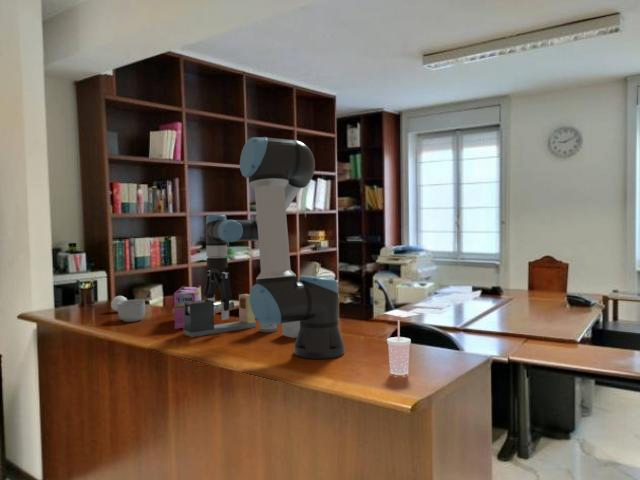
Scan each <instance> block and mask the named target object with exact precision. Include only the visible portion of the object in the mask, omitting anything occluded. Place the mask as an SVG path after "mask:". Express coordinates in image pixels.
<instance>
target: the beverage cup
mask: <svg viewBox="0 0 640 480" xmlns="http://www.w3.org/2000/svg"><path fill="white" fill-rule="evenodd" d="M400 330H401V328H400V319H398V320H397V336H394V337H391V336H390V337H388V338H387V339H386V343H387V345H388V358H389V359H388V360H389V374H390V373H391V374H395V375H405V374H408V375H409V366H410V365H409V364H410V347H411V346H410V345H411V343H412V340H411V338H409V337H404V336H400V335H401V333H400V332H401V331H400ZM391 374H390V375H391Z"/></svg>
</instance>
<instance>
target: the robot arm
mask: <svg viewBox="0 0 640 480" xmlns="http://www.w3.org/2000/svg"><path fill="white" fill-rule="evenodd" d="M240 153H241V154H240V157H239V159H240V160H239V170H240V173H241V175H242V177H244V178H246V179H247V178H248V185H249V186H250V188H252V189H253V190H254V199H255V212H256V216H255V218H254V219H227V216H226V214H208V215H207V216H206V217H205V239H206V242H205V244H206V245H205V248H206V249H205V250H206V257H207V258H206V268H208V269H209V270H206V271H205V281H204V282H205V284H204V291H203V292H204V293H203V295H204V297H206V300H210V301H214V303H216V295H215V292H216V289H217V286H218V290H219V294H220V297H221V300H220V302H221V310H220V311H221V313H220V315H221V317H220V318H221V321H224V320H225V321H226V320H229V319H230V309H229V301H233V293H232V288H231V282H230V272H225V268H228V264H229V263H228V257H227V256H228V250H229V248H228V243H235V242H249V241H255V242H257V241H258V251H259V252H258V253H259V263H260V273H259V274H258V275H257V277H256V279H255V283H256V284H254V285H252V287H251V288H250V290H249V291H250V293H249V294H250V305H251V309H252V311H253V314H254V316H255V320H257V321H258V323H259V324H260V323H262V324H264V325H272V324H274V325H277V326H278V325H280V324H281V325H282V323H289V322H296V321H300V329H299V333H298V336H297V337H296V340H295V343H294V347H293V348H294V355H295V356H297V357H300V358H304V359H312V360H313V359H314V360H326V359H333V358H337V357H340V356H343V355H344V354H345V344H344V340H343V336H342V334H341V331H340V327H339V295H340V292H339V287H338V281H337V280H336V279H334V278H330V277H324V276H314V275H313V276H312V275H300V276H299V278H298V277H297V274H296V273H295V272H294V271H292V269H291V259H290V257H291V256H290V248H289V247H290V246H289V243H290V242H289V232H288V222H287V221H288V220H287V209H289V206H290V205H291V204H292V202H293V201H294V199H295V198H296V196H297V195H298V194H299V193H300V190H301V189H304V188H306V187H307V186H308V184H309V183H310V182H311V180H312V178H313V177H314V174H315V168H316V161H315V157H314V154H313V152H312V150H311V148H309V147H308V146H307V145H306V144H305V143H303V141H299V140H297V139H284V138H276V137H275V138H273V137H267V136H262V137H256V136H253V137H250V138H249V139H248V140H247V141H246V142H245V143H244V145H243V148H242V150H241V152H240ZM297 278H298V280H297ZM214 316H216V311H214Z"/></svg>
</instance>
